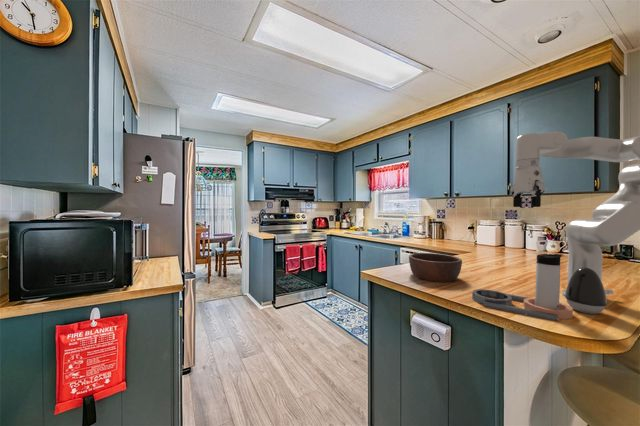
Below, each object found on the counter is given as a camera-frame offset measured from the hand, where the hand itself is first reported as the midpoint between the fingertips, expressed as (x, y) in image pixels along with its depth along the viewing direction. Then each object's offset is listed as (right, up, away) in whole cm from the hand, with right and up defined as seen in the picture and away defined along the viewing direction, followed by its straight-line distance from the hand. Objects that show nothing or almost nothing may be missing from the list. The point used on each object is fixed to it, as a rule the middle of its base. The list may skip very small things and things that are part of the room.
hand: (526, 206), depth 106 cm
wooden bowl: (-25, -36, +28) cm, 52 cm away
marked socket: (-6, -37, -16) cm, 40 cm away
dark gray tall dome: (+8, -37, -15) cm, 41 cm away
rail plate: (-14, -36, -10) cm, 40 cm away
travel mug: (-6, -37, -16) cm, 41 cm away
